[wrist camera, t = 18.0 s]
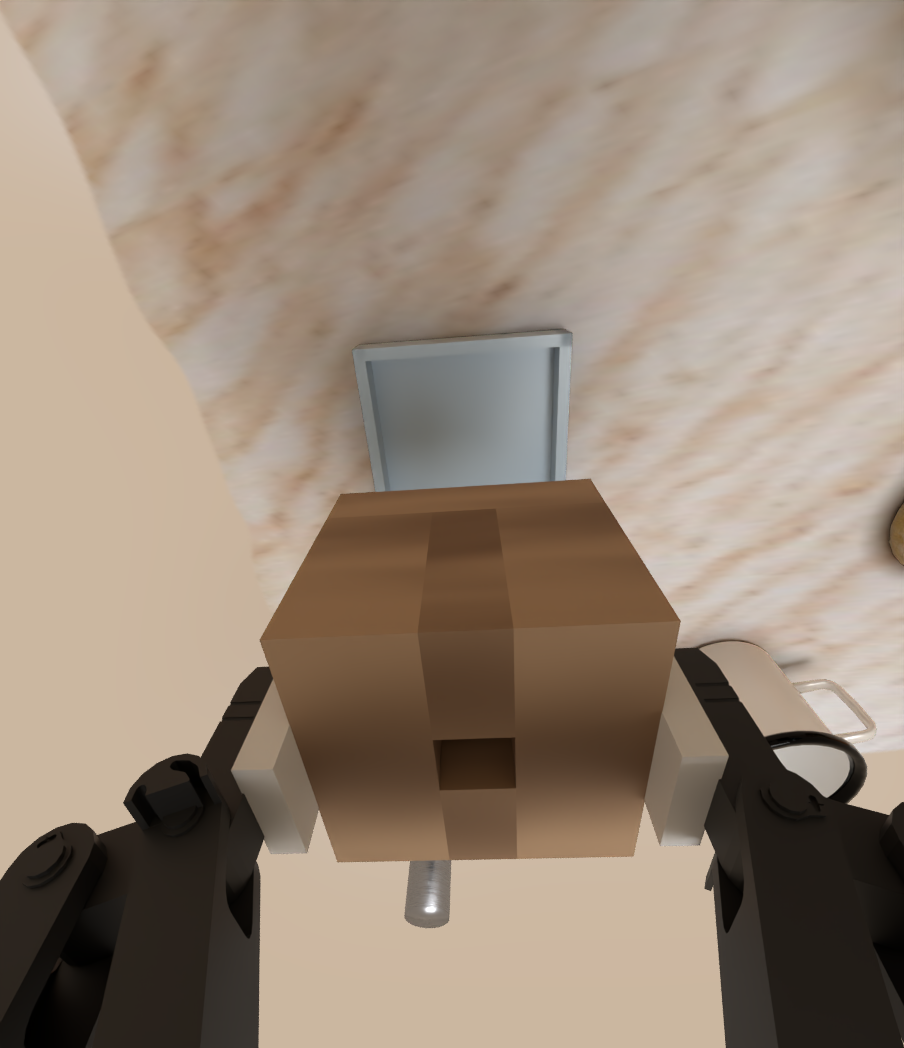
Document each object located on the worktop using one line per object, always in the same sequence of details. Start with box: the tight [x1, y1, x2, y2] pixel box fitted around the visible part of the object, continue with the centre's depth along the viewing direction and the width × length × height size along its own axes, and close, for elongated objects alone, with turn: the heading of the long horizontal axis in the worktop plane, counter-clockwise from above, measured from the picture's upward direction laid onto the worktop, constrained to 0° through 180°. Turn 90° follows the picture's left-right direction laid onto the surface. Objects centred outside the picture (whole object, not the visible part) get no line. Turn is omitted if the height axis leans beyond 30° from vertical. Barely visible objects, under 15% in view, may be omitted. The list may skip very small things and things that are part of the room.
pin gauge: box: [405, 860, 451, 928], centre depth 29 cm, size 2×2×15 cm
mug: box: [699, 641, 877, 804], centre depth 33 cm, size 12×9×9 cm
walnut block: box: [260, 479, 681, 862], centre depth 12 cm, size 7×7×6 cm
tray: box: [352, 329, 572, 492], centre depth 27 cm, size 11×11×2 cm
